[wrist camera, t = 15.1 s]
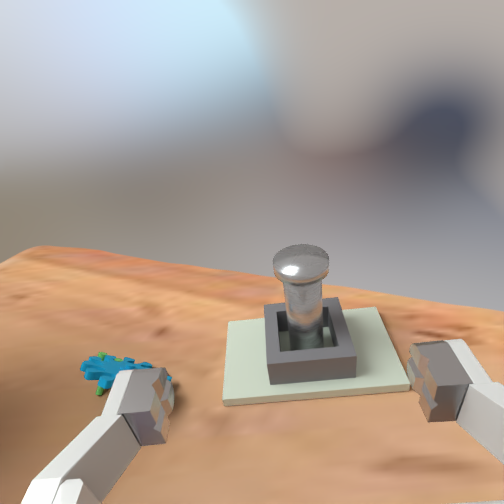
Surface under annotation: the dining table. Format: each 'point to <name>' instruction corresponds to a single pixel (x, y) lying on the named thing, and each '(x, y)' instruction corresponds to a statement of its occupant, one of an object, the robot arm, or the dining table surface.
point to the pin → (303, 293)
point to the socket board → (310, 358)
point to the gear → (109, 369)
